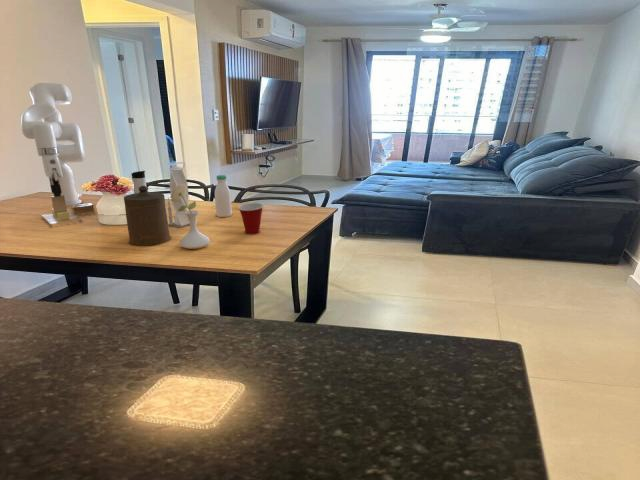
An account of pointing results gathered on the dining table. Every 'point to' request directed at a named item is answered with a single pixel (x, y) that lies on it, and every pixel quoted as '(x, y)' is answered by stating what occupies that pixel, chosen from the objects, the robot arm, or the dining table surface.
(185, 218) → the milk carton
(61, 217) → the butter slice
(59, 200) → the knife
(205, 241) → the flower in vase
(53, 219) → the board
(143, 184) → the travel mug
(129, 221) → the wooden container
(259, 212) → the plastic cup
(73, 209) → the knife block
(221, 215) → the milk bottle
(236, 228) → the dining table surface
